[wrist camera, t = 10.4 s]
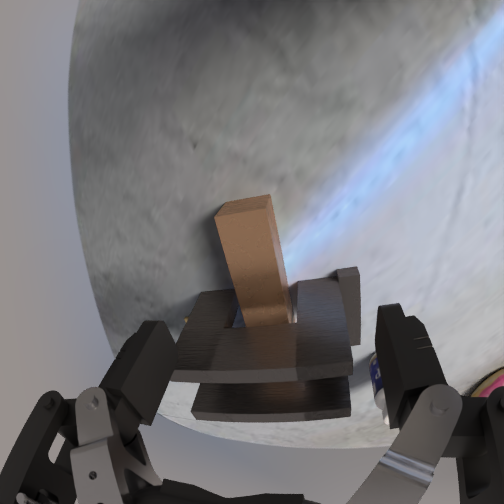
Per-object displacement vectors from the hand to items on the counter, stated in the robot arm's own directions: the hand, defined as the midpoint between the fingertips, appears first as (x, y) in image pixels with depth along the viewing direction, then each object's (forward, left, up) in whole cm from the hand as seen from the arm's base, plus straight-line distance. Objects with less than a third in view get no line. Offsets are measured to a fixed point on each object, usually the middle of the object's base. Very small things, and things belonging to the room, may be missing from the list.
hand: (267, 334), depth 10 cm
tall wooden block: (+9, -3, -16) cm, 19 cm away
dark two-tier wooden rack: (+12, -3, -16) cm, 20 cm away
